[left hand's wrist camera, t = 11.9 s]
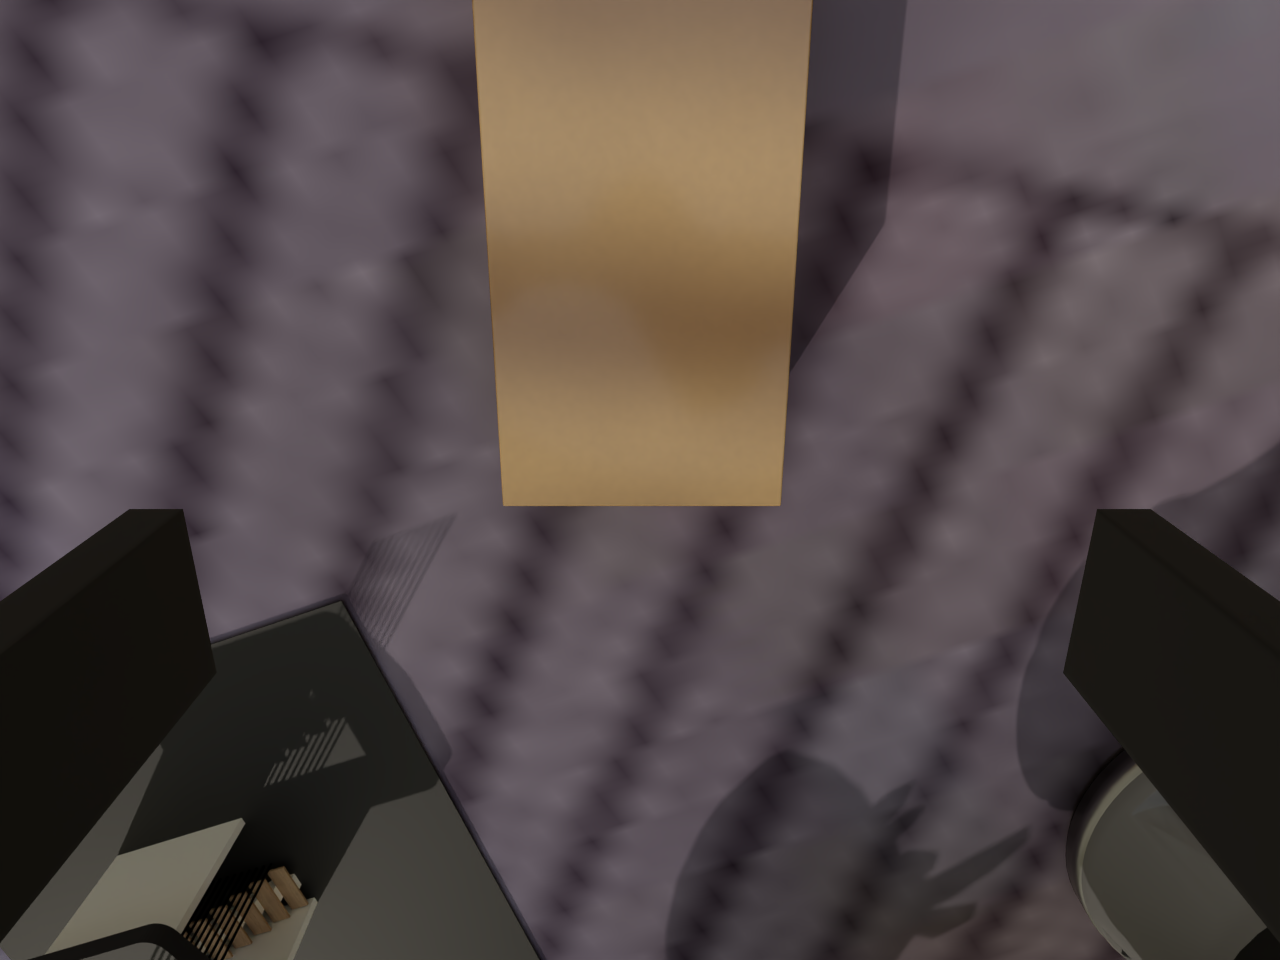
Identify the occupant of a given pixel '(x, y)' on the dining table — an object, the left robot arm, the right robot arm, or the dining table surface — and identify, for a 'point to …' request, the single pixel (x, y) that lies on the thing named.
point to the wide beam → (642, 244)
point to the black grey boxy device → (279, 828)
